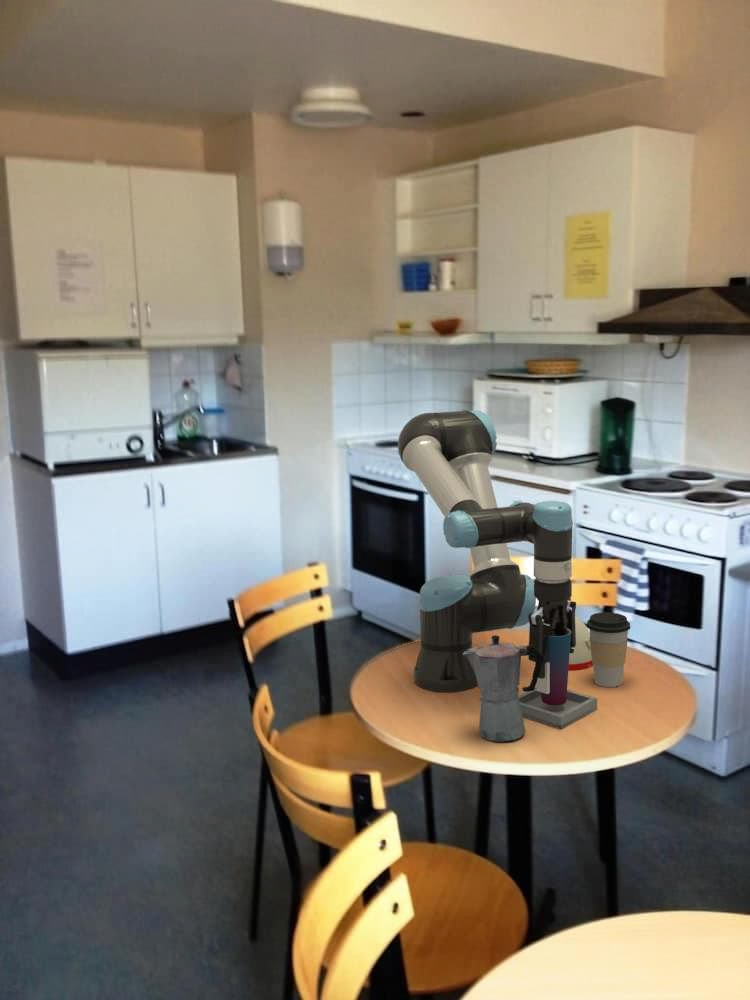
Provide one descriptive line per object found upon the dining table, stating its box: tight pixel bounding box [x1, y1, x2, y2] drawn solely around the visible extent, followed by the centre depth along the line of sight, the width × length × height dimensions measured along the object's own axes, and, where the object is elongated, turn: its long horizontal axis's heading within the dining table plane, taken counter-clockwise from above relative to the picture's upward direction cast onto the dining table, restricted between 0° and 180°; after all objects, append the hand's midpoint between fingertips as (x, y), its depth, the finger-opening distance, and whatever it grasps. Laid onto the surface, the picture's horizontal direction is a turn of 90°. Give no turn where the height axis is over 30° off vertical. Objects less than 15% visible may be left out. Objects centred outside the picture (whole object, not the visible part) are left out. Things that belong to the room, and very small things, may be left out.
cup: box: [541, 628, 571, 705], centre depth 192 cm, size 7×7×15 cm
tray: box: [518, 687, 598, 730], centre depth 193 cm, size 13×13×2 cm
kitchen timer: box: [546, 597, 593, 672], centre depth 221 cm, size 14×14×15 cm
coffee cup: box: [585, 611, 631, 688], centre depth 207 cm, size 9×9×15 cm
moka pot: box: [463, 634, 544, 743], centre depth 182 cm, size 10×15×20 cm, turn 88°
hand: (552, 687), depth 193 cm, fingers closed on cup, 6 cm apart
